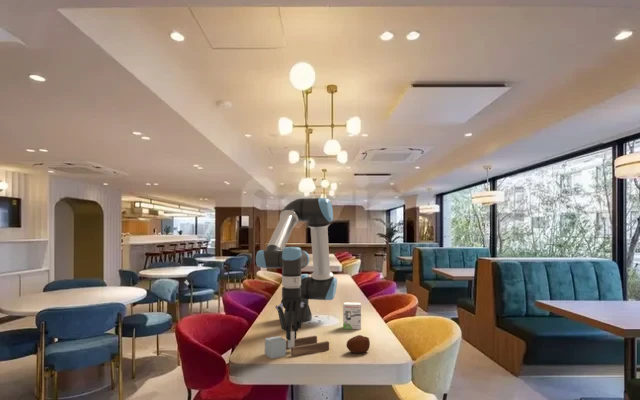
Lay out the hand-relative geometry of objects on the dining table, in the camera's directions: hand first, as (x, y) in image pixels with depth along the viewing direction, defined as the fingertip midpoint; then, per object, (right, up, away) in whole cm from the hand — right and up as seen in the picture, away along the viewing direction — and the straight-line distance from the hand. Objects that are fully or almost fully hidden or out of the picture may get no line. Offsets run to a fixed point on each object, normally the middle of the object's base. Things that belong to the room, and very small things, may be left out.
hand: (291, 347), depth 154 cm
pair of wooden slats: (+5, -2, +3) cm, 6 cm away
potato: (+26, -2, -1) cm, 26 cm away
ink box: (+27, -4, +37) cm, 46 cm away
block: (-6, -1, -4) cm, 7 cm away
